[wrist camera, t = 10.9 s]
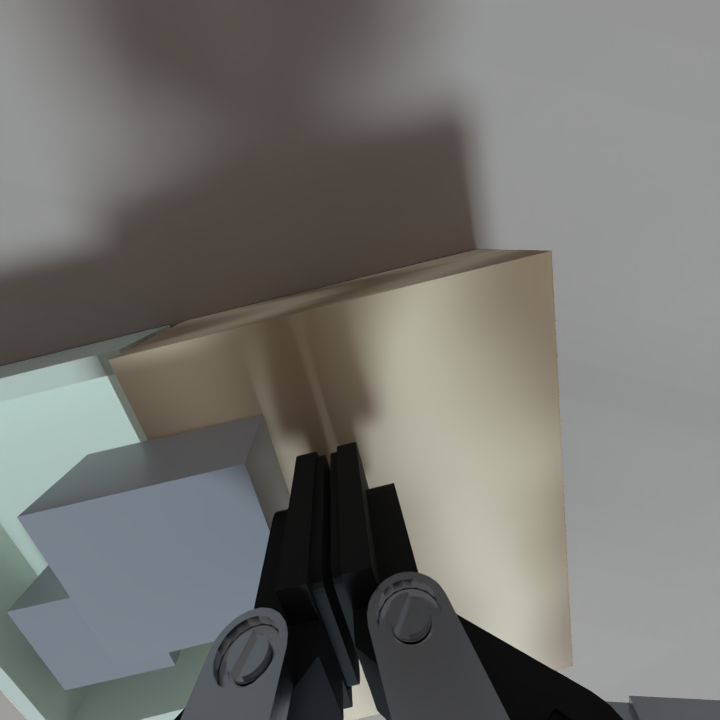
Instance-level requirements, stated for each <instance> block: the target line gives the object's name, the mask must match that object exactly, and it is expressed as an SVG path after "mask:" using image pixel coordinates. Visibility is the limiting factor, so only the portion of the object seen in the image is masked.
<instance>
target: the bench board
mask: <svg viewBox="0 0 720 720" xmlns="http://www.w3.org/2000/svg"><path fill="white" fill-rule="evenodd" d="M108 361H109V363H110V365H111V367H112V369H113V371H114V373H115V375H116V377H117V379H118V381H119V383H120V385H121V387H122V389H123V391H124V393H125V395H126V397H127V399H128V401H129V403H130V405H131V407H132V409H133V411H134V413H135V415H136V417H137V419H138V421H139V423H140V425H141V427H142V429H143V431H144V433H145V435H146V437H147V439H148V440H152V439H157V438H161V437H165V436H170V435H174V434H178V433H183V432H187V431H192V430H196V429H200V428H205V427H209V426H213V425H218V424H222V423H226V422H231V421H235V420H239V419H244V418H248V417H252V416H257V415H261V414H263V417H264V420H265V423H266V426H267V429H268V432H269V435H270V438H271V441H272V444H273V447H274V450H275V453H276V456H277V459H278V462H279V465H280V468H281V471H282V474H283V477H284V480H285V483H286V486H287V489H288V492H289V495H290V494H291V488H292V481H293V475H294V469H295V462H296V457H297V456H299V455H303V454H307V453H311V452H316V451H317V453H318V455H319V456H321V455H326V458H327V461H328V464H329V467H330V454H331V453H334V452H337V446H340V445H344V444H348V443H352V442H356V443H357V446H358V450H359V453H360V457H361V461H362V465H363V468H364V472H365V476H366V480H367V483H368V487H369V489H371V488H375V487H379V486H383V485H387V484H391V483H394V485H395V488H396V492H397V496H398V499H399V503H400V507H401V510H402V514H403V518H404V521H405V525H406V529H407V532H408V536H409V540H410V544H411V547H412V551H413V555H414V558H415V562H416V566H417V569H418V572H419V573H421V574H424V575H427V576H429V577H431V578H432V579H433V580H435V581H436V582H437V583H439V585H440V586H441V587H442V589H443V590H444V592H445V593H446V595H447V597H448V599H449V601H450V603H451V605H452V606H453V608H454V610H455V612H456V614H458V615H459V616H461V617H463V618H464V619H466V620H468V621H470V622H471V623H473V624H475V625H477V626H478V627H480V628H482V629H484V630H485V631H487V632H489V633H491V634H492V635H494V636H496V637H498V638H499V639H501V640H503V641H504V642H506V643H508V644H510V645H511V646H513V647H515V648H517V649H518V650H520V651H522V652H524V653H525V654H527V655H529V656H531V657H532V658H534V659H536V660H537V661H539V662H541V663H543V664H544V665H546V666H548V667H550V668H551V669H553V670H557V669H561V668H565V667H569V666H573V663H572V643H571V624H570V604H569V584H568V565H567V545H566V525H565V506H564V486H563V466H562V447H561V427H560V408H559V388H558V368H557V349H556V329H555V309H554V290H553V270H552V251H538V250H493V249H475V250H471V251H467V252H463V253H459V254H455V255H451V256H447V257H443V258H439V259H435V260H431V261H426V262H422V263H418V264H414V265H410V266H406V267H402V268H398V269H394V270H390V271H386V272H382V273H378V274H374V275H370V276H366V277H361V278H357V279H353V280H349V281H345V282H341V283H337V284H333V285H329V286H325V287H321V288H317V289H313V290H309V291H305V292H300V293H296V294H292V295H288V296H284V297H280V298H276V299H272V300H268V301H264V302H260V303H256V304H252V305H248V306H244V307H240V308H235V309H231V310H227V311H223V312H219V313H215V314H211V315H207V316H203V317H199V318H195V319H191V320H187V321H183V322H181V323H179V324H178V325H176V326H174V327H172V328H170V329H168V330H166V331H164V332H162V333H160V334H158V335H156V336H154V337H152V338H150V339H148V340H146V341H144V342H142V343H140V344H138V345H136V346H134V347H133V348H131V349H129V350H127V351H125V352H123V353H121V354H119V355H117V356H115V357H113V358H111V359H109V360H108ZM359 668H360V684H359V685H355V686H352V701H353V707H350V708H346V709H343V711H344V720H356V719H360V718H364V717H368V716H372V715H376V714H380V713H379V712H378V711H377V709H376V706H375V703H374V700H373V697H372V694H371V691H370V688H369V686H368V683H367V680H366V678H365V675H364V672H363V669H362V666H361V663H360V660H359Z"/></svg>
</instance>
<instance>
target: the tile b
mask: <svg viewBox="0 0 720 720" xmlns="http://www.w3.org/2000/svg"><path fill="white" fill-rule="evenodd" d="M289 500H290V495H289V492H288V489H287V486H286V483H285V480H284V477H283V474H282V471H281V468H280V465H279V462H278V459H277V456H276V453H275V450H274V447H273V444H272V441H271V438H270V435H269V432H268V429H267V426H266V423H265V420H264V417H263V414H261V415H257V416H252V417H248V418H244V419H239V420H235V421H231V422H226V423H222V424H218V425H213V426H209V427H205V428H200V429H196V430H192V431H187V432H183V433H178V434H174V435H170V436H165V437H161V438H157V439H152V440H148V441H144V442H139V443H135V444H131V445H126V446H122V447H118V448H113V449H109V450H104V451H100V452H96V453H91V454H88V455H86V456H85V457H84V458H83V459H82V460H81V461H80V462H79V463H77V464H76V465H75V466H74V467H73V468H72V469H71V470H69V471H68V472H67V473H66V474H65V475H64V476H63V477H62V478H60V479H59V480H58V481H57V482H56V483H55V484H54V485H53V486H51V487H50V488H49V489H48V490H47V491H46V492H45V493H44V494H42V495H41V496H40V497H39V498H38V499H37V500H36V501H34V502H33V503H32V504H31V505H30V506H29V507H28V508H27V509H25V510H24V511H23V512H22V513H21V514H20V515H19V516H18V517H17V518H18V519H19V521H20V522H21V524H22V526H23V527H24V529H25V530H26V532H27V533H28V535H29V536H30V538H31V539H32V541H33V542H34V544H35V545H36V547H37V548H38V550H39V551H40V553H41V554H42V556H43V557H44V559H45V560H46V562H47V563H48V565H49V566H50V568H51V569H52V571H53V572H54V574H55V575H56V577H57V578H58V580H59V581H60V583H61V584H62V586H63V587H64V589H65V590H66V592H67V593H68V595H69V596H70V598H71V599H72V601H73V602H74V604H75V605H76V607H77V608H78V610H79V611H80V613H81V614H82V616H83V617H84V619H85V620H86V622H87V623H88V625H89V626H90V628H91V629H92V631H93V632H94V634H95V636H96V637H97V639H98V640H99V642H100V643H101V645H102V646H103V648H104V649H105V651H106V652H107V654H108V655H109V657H110V658H111V660H112V661H113V663H114V664H115V666H117V665H121V664H125V663H129V662H133V661H137V660H141V659H145V658H149V657H153V656H157V655H161V654H165V653H169V652H173V651H177V650H181V649H185V648H189V647H193V646H197V645H201V644H205V643H209V642H213V641H215V639H216V638H217V637H218V636H219V634H220V633H221V632H222V631H223V629H224V628H225V627H226V626H227V625H228V624H229V623H231V622H232V621H233V620H234V619H235V618H236V617H238V616H240V615H242V614H243V613H245V612H247V611H249V610H253V609H254V606H255V601H256V596H257V591H258V586H259V582H260V577H261V572H262V567H263V563H264V558H265V553H266V548H267V543H268V539H269V534H270V529H271V524H272V520H273V516H274V514H275V513H276V512H277V511H281V510H285V509H288V506H289Z"/></svg>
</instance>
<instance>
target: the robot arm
mask: <svg viewBox="0 0 720 720" xmlns="http://www.w3.org/2000/svg"><path fill="white" fill-rule="evenodd" d="M359 660H360V663H361V666H362V669H363V672H364V675H365V678H366V680H367V683H368V686H369V688H370V691H371V694H372V697H373V700H374V703H375V706H376V709H377V711H378V712H379V713H380V714H381V715H382V716H383V717H384V718H385V719H387V720H720V700H701V699H682V698H662V697H643V696H629V703H623V702H605V701H604V700H602V699H601V698H600V697H598V696H597V695H596V694H594V693H593V692H591V691H590V690H588V689H586V688H584V687H583V686H581V685H579V684H577V683H576V682H574V681H572V680H570V679H569V678H567V677H565V676H564V675H562V674H560V673H558V672H557V671H555V670H553V669H551V668H550V667H548V666H546V665H544V664H543V663H541V662H539V661H537V660H536V659H534V658H532V657H531V656H529V655H527V654H525V653H524V652H522V651H520V650H518V649H517V648H515V647H513V646H511V645H510V644H508V643H506V642H504V641H503V640H501V639H499V638H498V637H496V636H494V635H492V634H491V633H489V632H487V631H485V630H484V629H482V628H480V627H478V626H477V625H475V624H473V623H471V622H470V621H468V620H466V619H464V618H463V617H461V616H459V615H458V614H456V612H455V610H454V608H453V606H452V605H451V603H450V601H449V599H448V597H447V595H446V593H445V592H444V590H443V589H442V587H441V586H440V585H439V583H437V582H436V581H435V580H433V579H432V578H431V577H429V576H427V575H424V574H421V573H419V572H418V569H417V566H416V562H415V558H414V555H413V551H412V547H411V544H410V540H409V536H408V532H407V529H406V525H405V521H404V518H403V514H402V510H401V507H400V503H399V499H398V496H397V492H396V488H395V485H394V483H391V484H387V485H383V486H379V487H375V488H371V489H369V487H368V483H367V480H366V476H365V472H364V468H363V465H362V461H361V457H360V453H359V450H358V446H357V443H356V442H352V443H348V444H344V445H340V446H337V452H334V453H331V454H330V467H329V464H328V461H327V458H326V455H321V456H319V455H318V453H317V451H316V452H311V453H307V454H303V455H299V456H297V457H296V462H295V469H294V475H293V481H292V488H291V494H290V500H289V506H288V509H285V510H281V511H277V512H276V513H275V514H274V516H273V520H272V524H271V529H270V534H269V539H268V543H267V548H266V553H265V558H264V563H263V567H262V572H261V577H260V582H259V586H258V591H257V596H256V601H255V606H254V609H253V610H249V611H247V612H245V613H243V614H242V615H240V616H238V617H236V618H235V619H234V620H233V621H232V622H231V623H229V624H228V625H227V626H226V627H225V628H224V629H223V631H222V632H221V633H220V634H219V636H218V637H217V638H216V639H215V641H214V643H213V645H212V647H211V649H210V651H209V652H208V655H207V657H206V659H205V662H204V664H203V667H202V669H201V671H200V674H199V676H198V679H197V681H196V683H195V686H194V688H193V691H192V693H191V695H190V698H189V700H188V702H187V705H186V707H185V708H184V709H183V710H182V711H181V713H180V714H179V715H178V716H177V717H176V718H175V719H174V720H344V711H343V709H346V708H350V707H353V701H352V686H355V685H359V684H360V668H359Z"/></svg>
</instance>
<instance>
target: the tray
mask: <svg viewBox="0 0 720 720" xmlns="http://www.w3.org/2000/svg"><path fill="white" fill-rule="evenodd" d="M170 328H171V327H170V325H166V326H162V327H158V328H154V329H150V330H146V331H142V332H138V333H134V334H130V335H126V336H122V337H118V338H114V339H109V340H105V341H101V342H97V343H93V344H89V345H85V346H81V347H77V348H73V349H69V350H65V351H61V352H57V353H53V354H49V355H44V356H40V357H36V358H32V359H28V360H24V361H20V362H16V363H12V364H8V365H4V366H0V690H1V691H2V692H3V694H4V695H5V696H6V697H7V698H8V699H9V700H10V701H11V702H12V704H13V705H14V706H15V707H16V708H17V709H18V710H19V711H20V713H21V714H22V715H23V716H24V717H25V718H26V719H27V720H174V719H175V718H176V717H177V716H178V715H179V714H180V713H181V711H182V710H183V709H184V708H185V707H186V705H187V702H188V700H189V698H190V695H191V693H192V691H193V688H194V686H195V683H196V681H197V679H198V676H199V674H200V671H201V669H202V667H203V664H204V662H205V659H206V657H207V655H208V652H209V651H210V649H211V647H212V645H213V643H214V641H213V642H209V643H205V644H201V645H197V646H193V647H189V648H185V649H181V652H180V655H179V657H178V660H177V663H176V665H175V666H171V667H166V668H162V669H158V670H153V671H149V672H144V673H140V674H135V675H131V676H127V677H122V678H118V679H113V680H109V681H104V682H100V683H96V684H91V685H87V686H82V687H78V688H74V689H69V690H64V688H63V687H62V686H61V684H60V683H59V682H58V680H57V679H56V678H55V676H54V675H53V674H52V672H51V671H50V670H49V668H48V667H47V666H46V664H45V663H44V662H43V660H42V659H41V658H40V656H39V655H38V654H37V652H36V651H35V650H34V648H33V647H32V646H31V644H30V643H29V642H28V640H27V639H26V638H25V636H24V635H23V634H22V632H21V631H20V630H19V628H18V627H17V625H16V624H15V623H14V621H13V620H12V619H11V617H10V616H9V615H8V613H7V611H8V610H9V609H10V607H11V606H12V605H13V604H14V603H15V602H16V601H17V600H18V598H19V597H20V596H21V595H22V594H23V593H24V592H25V591H26V589H27V588H28V587H29V586H30V585H31V584H32V583H33V582H34V580H35V579H36V578H37V577H38V576H39V575H40V574H41V573H42V571H43V570H44V569H45V568H46V567H47V566H48V563H47V562H46V560H45V559H44V557H43V556H42V554H41V553H40V551H39V550H38V548H37V547H36V545H35V544H34V542H33V541H32V539H31V538H30V536H29V535H28V533H27V532H26V530H25V529H24V527H23V526H22V524H21V522H20V521H19V519H18V518H17V517H18V516H19V515H20V514H21V513H22V512H23V511H24V510H25V509H27V508H28V507H29V506H30V505H31V504H32V503H33V502H34V501H36V500H37V499H38V498H39V497H40V496H41V495H42V494H44V493H45V492H46V491H47V490H48V489H49V488H50V487H51V486H53V485H54V484H55V483H56V482H57V481H58V480H59V479H60V478H62V477H63V476H64V475H65V474H66V473H67V472H68V471H69V470H71V469H72V468H73V467H74V466H75V465H76V464H77V463H79V462H80V461H81V460H82V459H83V458H84V457H85V456H86V455H88V454H91V453H96V452H100V451H104V450H109V449H113V448H118V447H122V446H126V445H131V444H135V443H139V442H144V441H148V439H147V437H146V435H145V433H144V431H143V429H142V427H141V425H140V423H139V421H138V419H137V417H136V415H135V413H134V411H133V409H132V407H131V405H130V403H129V401H128V399H127V397H126V395H125V393H124V391H123V389H122V387H121V385H120V383H119V381H118V379H117V377H116V375H115V373H114V371H113V369H112V367H111V365H110V363H109V361H108V360H109V359H111V358H113V357H115V356H117V355H119V354H121V353H123V352H125V351H127V350H129V349H131V348H133V347H134V346H136V345H138V344H140V343H142V342H144V341H146V340H148V339H150V338H152V337H154V336H156V335H158V334H160V333H162V332H164V331H166V330H168V329H170Z"/></svg>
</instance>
